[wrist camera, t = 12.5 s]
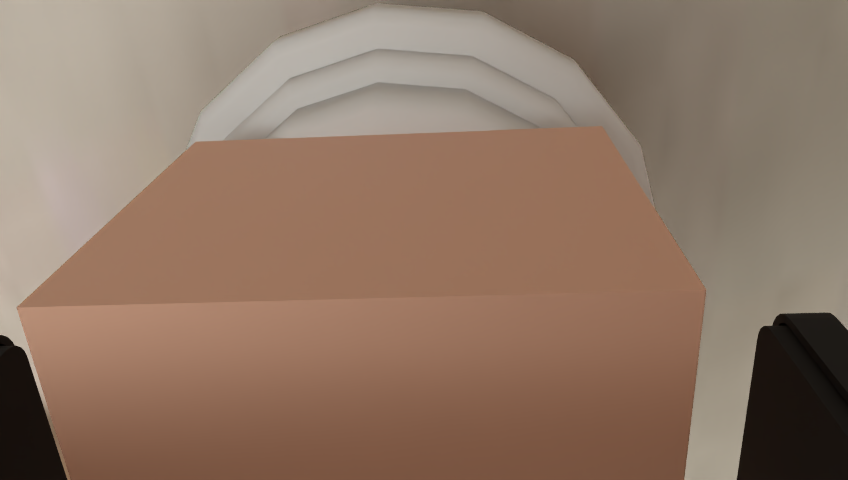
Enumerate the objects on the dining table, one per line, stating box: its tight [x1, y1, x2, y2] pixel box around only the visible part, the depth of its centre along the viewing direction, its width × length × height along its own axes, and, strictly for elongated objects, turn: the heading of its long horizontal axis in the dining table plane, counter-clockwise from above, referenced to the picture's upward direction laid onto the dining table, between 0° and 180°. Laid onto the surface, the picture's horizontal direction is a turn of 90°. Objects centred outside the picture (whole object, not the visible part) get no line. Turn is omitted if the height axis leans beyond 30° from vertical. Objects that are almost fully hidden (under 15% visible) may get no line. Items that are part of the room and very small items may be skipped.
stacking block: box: [17, 126, 706, 480], centre depth 10 cm, size 6×6×5 cm
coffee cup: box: [186, 3, 656, 210], centre depth 18 cm, size 9×9×12 cm
